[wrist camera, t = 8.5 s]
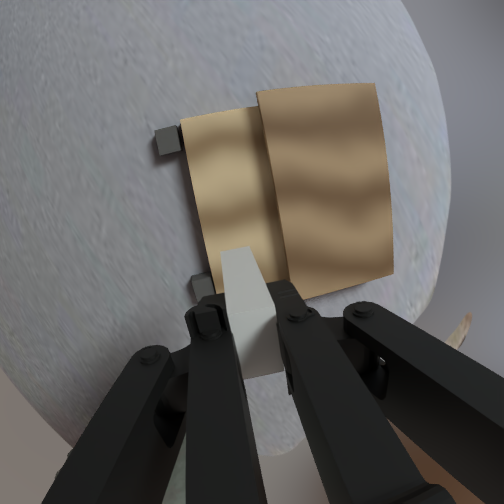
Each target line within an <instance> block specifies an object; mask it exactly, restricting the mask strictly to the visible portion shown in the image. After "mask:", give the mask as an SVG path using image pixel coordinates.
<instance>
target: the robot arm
mask: <svg viewBox="0 0 504 504" xmlns="http://www.w3.org/2000/svg"><path fill="white" fill-rule="evenodd" d="M220 254H221V264H222V273H223V282H224V291H225V292H224V293H219V294H214V295H208V296H203V297H202V299H201V300H200V301H199V302H198V305H197V306H194V307H192V308H191V309H189V310H188V311H187V312H186V314H185V316H184V317H185V320H186V324H187V327H188V330H189V334H190V337H191V344H190V345H188V346H187V347H185V348H183V349H181V350H178V351H176V352H173V353H170V352H169V350H168V348H166V347H164V346H160V345H153V346H147V347H144V348H142V349H141V350H139V351H137V352H136V353H135V354H134V355H133V356H132V357H131V359H130V360H129V362H128V363H127V365H126V366H125V368H124V370H123V371H122V373H121V374H120V376H119V377H118V379H117V380H116V382H115V383H114V385H113V386H112V388H111V389H110V391H109V392H108V394H107V396H106V397H105V399H104V400H103V402H102V403H101V405H100V407H99V408H98V410H97V411H96V413H95V414H94V416H93V418H92V419H91V421H90V422H89V424H88V426H87V427H86V429H85V430H84V432H83V434H82V435H81V437H80V439H79V440H78V442H77V443H76V445H75V447H74V448H73V450H72V452H71V453H70V455H69V457H68V458H67V460H66V462H65V463H64V465H63V467H62V468H61V470H60V472H59V473H58V475H57V477H56V479H55V480H54V482H53V484H52V486H51V487H50V489H49V491H48V492H47V494H46V496H45V498H44V500H43V501H42V504H162V502H163V499H164V496H165V493H166V490H167V487H168V484H169V481H170V478H171V475H172V472H173V469H174V466H175V463H176V460H177V457H178V454H179V452H180V449H181V446H182V443H183V440H184V437H185V434H186V468H185V498H186V504H268V503H267V498H266V494H265V489H264V484H263V479H262V474H261V469H260V464H259V459H258V454H257V449H256V443H255V438H254V433H253V428H252V422H251V417H250V411H249V406H248V400H247V395H246V389H245V385H244V381H243V380H244V379H249V378H254V377H259V376H263V375H268V374H273V373H277V372H282V371H284V367H285V371H286V378H287V385H288V393H289V395H291V394H292V397H293V400H294V403H295V405H296V408H297V411H298V414H299V417H300V420H301V423H302V426H303V429H304V431H305V434H306V437H307V440H308V443H309V446H310V449H311V452H312V454H313V457H314V460H315V463H316V466H317V469H318V472H319V475H320V477H321V480H322V483H323V486H324V488H325V491H326V494H327V497H328V500H329V503H330V504H456V502H455V501H454V499H453V498H452V496H451V495H450V494H449V492H448V491H447V490H446V489H445V488H444V487H442V486H440V485H439V484H429V483H427V482H426V481H425V480H424V478H423V477H422V475H421V474H420V472H419V470H418V469H417V467H416V465H415V464H414V462H413V461H412V459H411V457H410V456H409V454H408V452H407V451H406V449H405V447H404V446H403V445H402V443H401V441H400V439H399V438H398V436H397V434H396V433H395V431H394V430H393V428H392V427H391V425H390V423H389V422H388V420H387V419H389V420H390V421H391V422H392V423H393V424H394V425H395V426H396V427H398V428H399V429H400V430H401V431H402V432H403V433H404V434H405V435H406V436H407V437H409V438H410V439H411V440H412V441H413V442H414V443H415V444H416V445H418V446H419V447H420V448H421V449H422V450H423V451H424V452H425V453H427V454H428V455H429V456H430V457H432V459H433V460H435V461H436V462H437V463H438V464H439V465H440V466H442V467H443V468H444V469H445V470H446V471H448V473H450V474H451V475H452V476H453V477H454V478H455V479H457V480H458V481H459V482H460V483H461V484H462V485H464V486H465V487H466V488H467V489H468V490H470V491H471V492H472V493H473V494H474V495H475V496H477V497H478V498H479V499H480V500H482V501H483V502H484V503H485V504H504V378H503V377H501V376H499V375H497V374H496V373H494V372H493V371H491V370H489V369H488V368H486V367H484V366H483V365H481V364H479V363H478V362H476V361H474V360H473V359H471V358H469V357H468V356H466V355H464V354H463V353H461V352H459V351H457V350H456V349H454V348H452V347H451V346H449V345H447V344H445V343H444V342H442V341H440V340H439V339H437V338H435V337H433V336H432V335H430V334H428V333H426V332H425V331H423V330H421V329H420V328H418V327H416V326H415V325H413V324H411V323H409V322H408V321H406V320H404V319H402V318H401V317H399V316H397V315H395V314H394V313H392V312H390V311H388V310H387V309H385V308H383V307H381V306H380V305H378V304H375V303H373V302H366V301H362V302H356V303H353V304H350V305H349V306H347V307H346V308H345V309H344V311H343V317H333V318H329V317H321V316H320V314H319V313H318V311H316V310H315V309H314V308H311V307H308V306H307V305H306V304H305V302H304V301H303V299H302V297H301V296H300V294H299V293H298V291H297V290H296V288H295V286H294V285H293V283H291V282H289V281H287V280H285V279H284V280H279V281H274V282H269V283H265V281H264V279H263V277H262V274H261V272H260V270H259V267H258V265H257V263H256V260H255V258H254V256H253V253H252V251H251V249H250V246H247V247H242V248H237V249H231V250H226V251H221V252H220ZM380 357H381V358H382V359H383V360H384V361H385V362H384V361H383V360H381V359H380ZM283 364H284V366H283Z"/></svg>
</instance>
